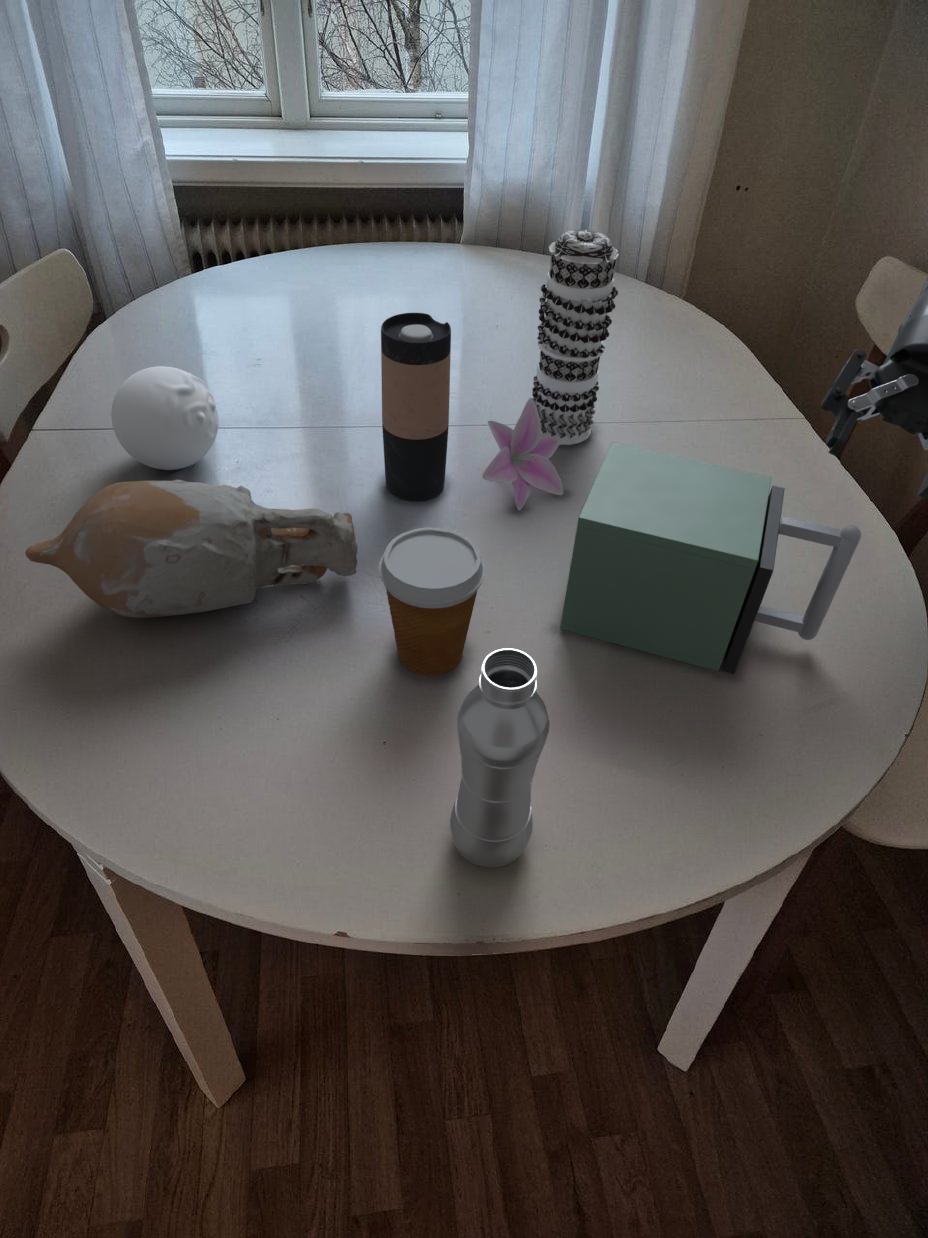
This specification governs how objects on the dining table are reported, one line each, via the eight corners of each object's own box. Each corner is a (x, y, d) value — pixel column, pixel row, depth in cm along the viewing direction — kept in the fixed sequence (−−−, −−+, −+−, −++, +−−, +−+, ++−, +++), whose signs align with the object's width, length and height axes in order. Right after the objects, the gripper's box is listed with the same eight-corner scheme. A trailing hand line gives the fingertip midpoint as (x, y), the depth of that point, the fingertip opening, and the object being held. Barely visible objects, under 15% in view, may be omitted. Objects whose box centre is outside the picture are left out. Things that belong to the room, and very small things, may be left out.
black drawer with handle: (814, 605, 92) (864, 489, 81) (807, 694, 82) (863, 575, 72) (611, 555, 96) (636, 439, 86) (583, 634, 87) (606, 514, 77)
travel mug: (384, 503, 102) (380, 343, 88) (383, 467, 107) (379, 311, 93) (448, 502, 102) (454, 343, 89) (444, 467, 108) (449, 311, 94)
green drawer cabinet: (734, 584, 94) (771, 476, 84) (718, 671, 84) (758, 560, 74) (591, 549, 97) (611, 441, 87) (559, 629, 87) (578, 517, 78)
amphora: (11, 472, 81) (323, 404, 82) (89, 574, 94) (357, 514, 95) (-5, 586, 73) (339, 509, 74) (82, 680, 86) (374, 614, 87)
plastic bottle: (439, 868, 67) (447, 696, 53) (460, 797, 72) (472, 624, 58) (520, 887, 66) (550, 718, 52) (536, 815, 71) (566, 642, 57)
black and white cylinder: (592, 450, 112) (625, 255, 95) (521, 441, 113) (542, 246, 96) (596, 416, 119) (628, 227, 102) (530, 407, 120) (550, 219, 103)
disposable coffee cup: (388, 694, 80) (386, 597, 72) (375, 624, 87) (372, 528, 78) (488, 682, 81) (497, 586, 73) (468, 614, 88) (474, 519, 80)
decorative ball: (198, 496, 101) (180, 405, 93) (105, 479, 103) (78, 388, 94) (241, 444, 109) (227, 356, 101) (154, 429, 111) (133, 342, 103)
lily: (462, 518, 102) (500, 474, 94) (450, 436, 106) (485, 387, 99) (549, 530, 107) (591, 489, 99) (534, 451, 112) (573, 406, 104)
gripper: (887, 283, 79) (823, 412, 74) (1037, 349, 77) (982, 486, 72) (851, 337, 86) (790, 458, 81) (987, 399, 84) (934, 527, 79)
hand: (880, 471), depth 76 cm, fingers open, 8 cm apart
